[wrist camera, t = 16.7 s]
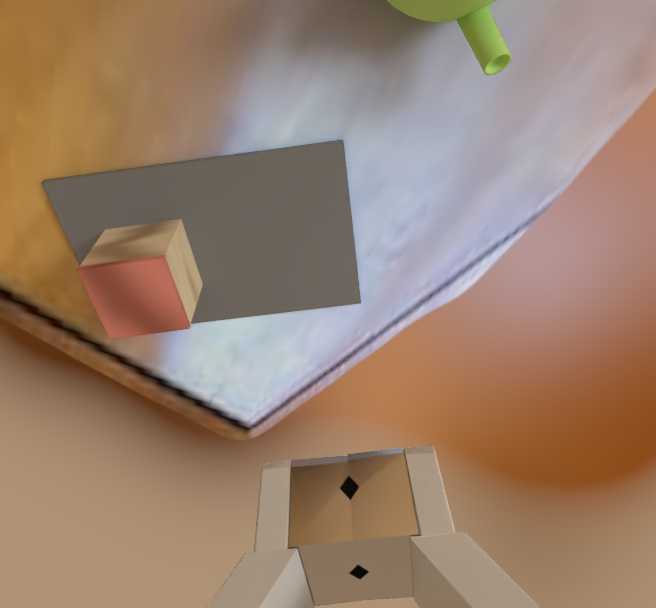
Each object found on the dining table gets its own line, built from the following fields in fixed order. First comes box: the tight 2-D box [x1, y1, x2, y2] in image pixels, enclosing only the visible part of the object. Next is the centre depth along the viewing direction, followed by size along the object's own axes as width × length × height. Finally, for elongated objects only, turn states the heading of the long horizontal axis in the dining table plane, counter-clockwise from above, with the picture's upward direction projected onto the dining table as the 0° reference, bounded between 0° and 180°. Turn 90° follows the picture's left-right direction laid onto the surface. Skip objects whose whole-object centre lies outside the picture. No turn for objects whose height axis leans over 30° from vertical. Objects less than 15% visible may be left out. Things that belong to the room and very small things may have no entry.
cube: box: [77, 219, 203, 339], centre depth 39 cm, size 6×6×6 cm
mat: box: [41, 140, 361, 323], centre depth 41 cm, size 22×14×1 cm, turn 97°
